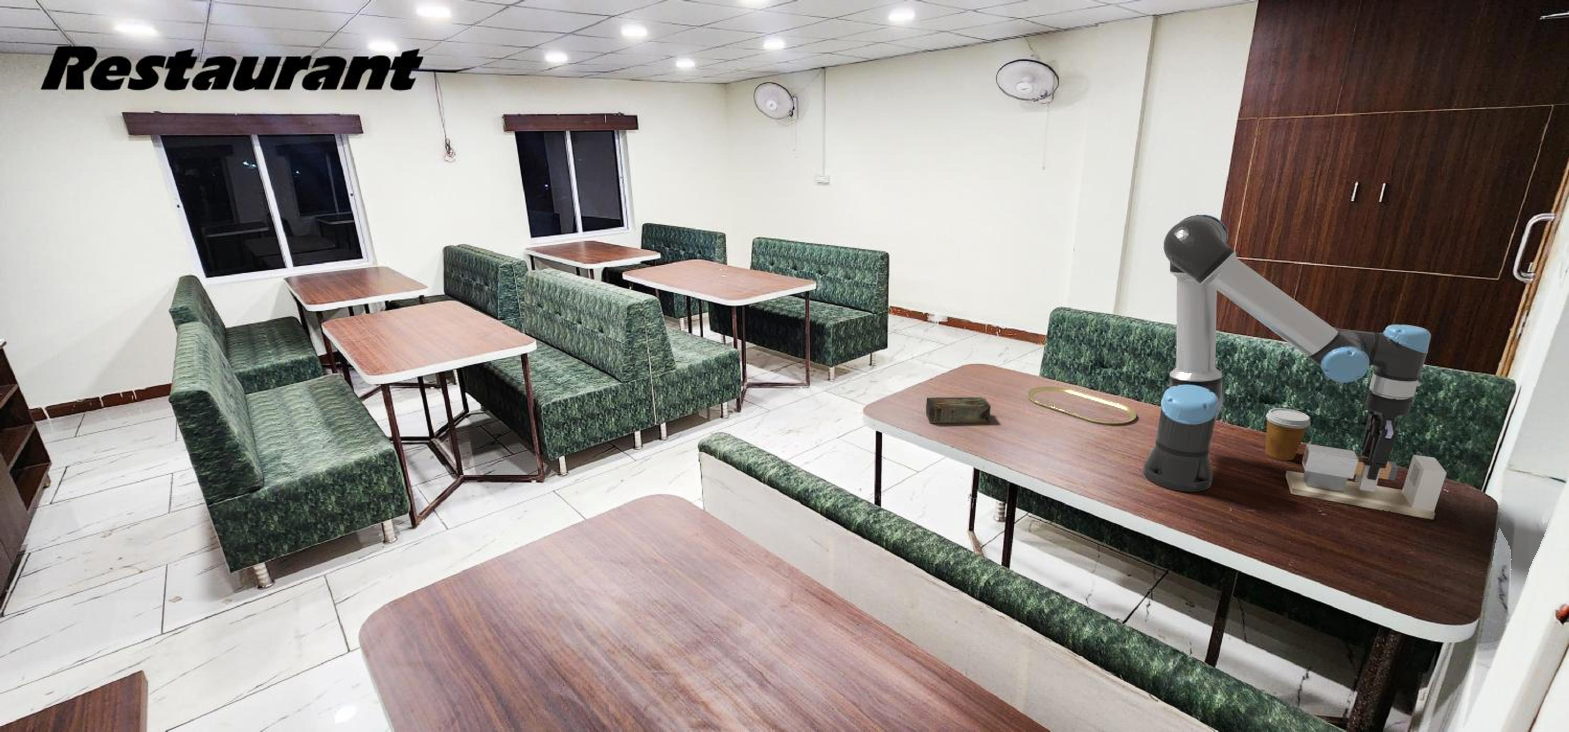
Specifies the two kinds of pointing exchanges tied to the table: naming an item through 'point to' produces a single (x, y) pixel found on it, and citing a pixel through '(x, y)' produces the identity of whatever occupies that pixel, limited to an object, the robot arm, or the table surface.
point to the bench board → (1358, 496)
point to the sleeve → (1328, 467)
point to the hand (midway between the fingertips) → (1364, 486)
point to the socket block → (1423, 483)
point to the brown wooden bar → (1385, 473)
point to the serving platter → (1086, 396)
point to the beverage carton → (957, 409)
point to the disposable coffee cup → (1285, 432)
